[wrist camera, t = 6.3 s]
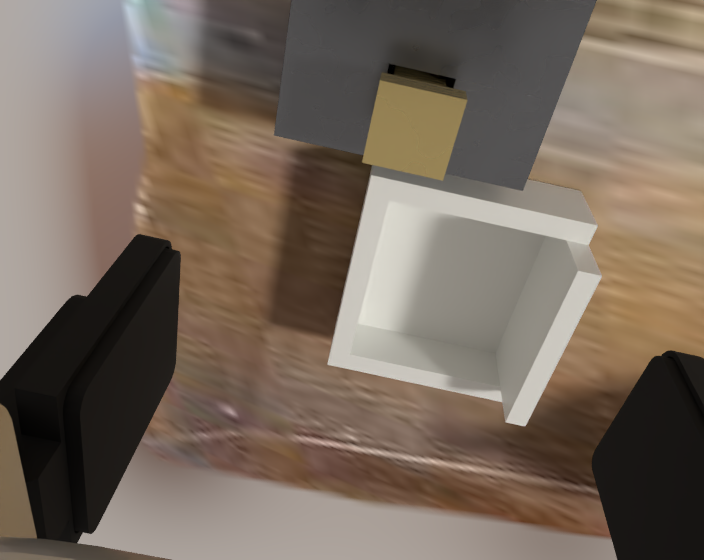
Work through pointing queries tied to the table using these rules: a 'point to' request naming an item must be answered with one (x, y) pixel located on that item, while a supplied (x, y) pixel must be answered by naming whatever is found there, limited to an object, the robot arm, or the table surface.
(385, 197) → the white square bin
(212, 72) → the table surface
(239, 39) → the table surface
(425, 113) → the brass key
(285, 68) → the socket block
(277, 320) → the table surface
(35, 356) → the robot arm
